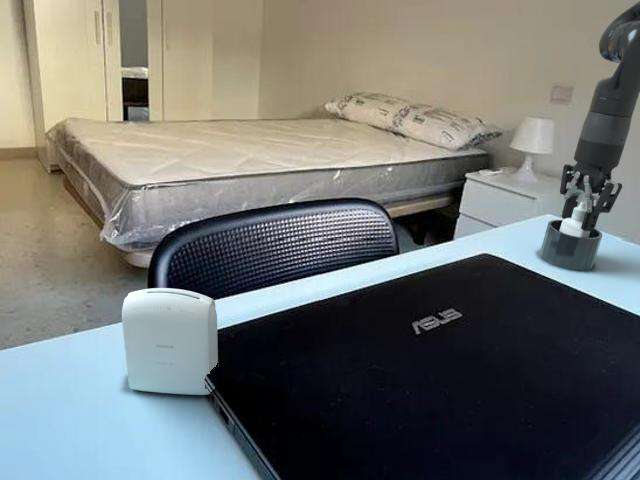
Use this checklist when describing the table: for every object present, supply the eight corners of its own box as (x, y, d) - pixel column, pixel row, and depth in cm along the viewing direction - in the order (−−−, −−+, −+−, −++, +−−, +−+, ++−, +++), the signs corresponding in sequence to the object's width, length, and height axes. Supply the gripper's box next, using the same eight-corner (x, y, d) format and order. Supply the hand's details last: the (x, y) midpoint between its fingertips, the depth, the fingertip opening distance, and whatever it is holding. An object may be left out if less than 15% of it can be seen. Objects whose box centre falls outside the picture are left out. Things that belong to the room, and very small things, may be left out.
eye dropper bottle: (558, 262, 98) (575, 205, 94) (551, 251, 103) (567, 196, 99) (581, 266, 98) (600, 208, 93) (573, 254, 103) (590, 199, 98)
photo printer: (122, 392, 56) (113, 297, 51) (136, 368, 60) (129, 277, 55) (213, 400, 56) (212, 305, 51) (221, 376, 60) (221, 285, 55)
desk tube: (571, 250, 106) (581, 220, 103) (602, 271, 97) (613, 239, 95) (529, 250, 104) (538, 219, 102) (557, 272, 96) (567, 238, 93)
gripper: (650, 148, 85) (618, 239, 92) (594, 131, 98) (571, 211, 105) (611, 146, 84) (582, 238, 91) (560, 129, 97) (538, 211, 104)
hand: (576, 224), depth 98 cm, fingers closed on eye dropper bottle, 5 cm apart
